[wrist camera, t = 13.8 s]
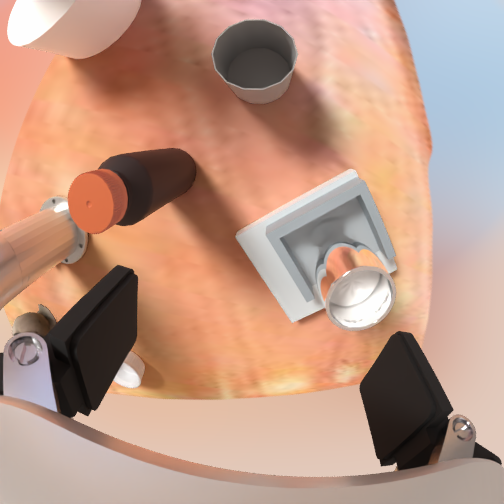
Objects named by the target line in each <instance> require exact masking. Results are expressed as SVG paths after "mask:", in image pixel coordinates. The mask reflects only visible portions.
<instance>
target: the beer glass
mask: <svg viewBox="0 0 504 504" xmlns="http://www.w3.org/2000/svg"><path fill="white" fill-rule="evenodd" d="M309 248H310V251H311V253H312V254H313V256H314V257H315V258H316V266H315V276H316V283H317V288H318V292H319V295H320V298H321V300H322V302H323V305H324V307H325V309H326V313H327V315H328V317H329V319H330V320H331V322H332V323H333V324H334V325H336V326H337V327H339V328H341V329H344V330H349V331H359V330H364V329H367V328H370V327H372V326H374V325H376V324H377V323H379V322H380V321H382V320H383V319H384V318H385V317H386V316H387V314H388V313H389V312H390V310H391V309H392V307H393V304H394V302H395V298H396V287H395V283H394V281H393V279H392V277H391V276H390V275H389V273H388V271H387V269H386V268H385V266H384V264H383V263H382V261H381V260H380V259H379V257H378V256H377V255H376V254H375V253H374V252H373V251H372V249H371V248H369V247H368V246H367V245H365V244H364V243H362V242H361V241H359V240H357V239H355V238H353V234H352V232H351V230H350V228H349V227H348V226H347V225H346V224H345V223H343V222H341V221H339V220H326V221H323V222H321V223H319V224H318V225H317V226H316V227H315V228H314V229H313V230H312V232H311V234H310V238H309Z"/></svg>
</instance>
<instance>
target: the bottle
mask: <svg viewBox="0 0 504 504" xmlns="http://www.w3.org/2000/svg"><path fill="white" fill-rule="evenodd" d="M195 175H196V169H195V164H194V162H193V160H192V158H191V157H190V156H189V155H188V154H187V152H185V151H183V150H181V149H176V148H168V149H158V150H149V151H141V152H133V153H126V154H120V155H116V156H113V157H110V158H109V159H107V160H106V161H105V162H103V163H102V164H101V166H100V167H99V168H98V170H95V171H90V172H86V173H83V174H81V175H79V176H78V177H77V178H75V180H74V181H73V183H72V185H71V187H70V190H69V194H68V207H69V212H70V215H71V218H72V219H73V221H74V222H75V224H77V226H78V227H79V228H80V229H82V230H84V231H85V232H88V233H90V234H91V233H92V234H95V233H96V234H97V233H98V234H99V233H101V232H104V231H105V230H107V229H109V228H110V227H112V226H113V225H115V224H116V225H120V226H128V225H133V224H135V223H137V222H139V221H141V220H142V219H144V218H145V217H147V216H148V215H150V214H152V213H153V212H155V211H156V210H158V209H159V208H161V207H162V206H164V205H166V204H167V203H169V202H170V201H172V200H174V199H175V198H177V197H178V196H180V195H182V194H183V193H185V192H186V191H187V190H188V189H189V188H190V187H191V186H192V184H193V182H194V180H195Z"/></svg>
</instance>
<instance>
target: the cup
mask: <svg viewBox="0 0 504 504" xmlns="http://www.w3.org/2000/svg"><path fill="white" fill-rule="evenodd" d="M297 56H298V53H297V49H296V45H295V42H294V39H293V38H292V36H291V35H290V34H289V33H288V32H287V31H286V30H285V29H284V28H283V27H282V26H280V25H277V24H275V23H272V22H270V21H267V20H244V21H241V22H238V23H236V24H233V25H231V26H229V27H228V28H227V29H225V30H224V31H223V32H222V33H221V34H220V35H219V36H218V38H217V39H216V41H215V44H214V47H213V51H212V59H213V63H214V68H215V70H216V72H217V73H218V74H219V75H220V76H221V78H222V79H223V80H224V81H225V82H226V84H227V85H228V86H229V87H230V89H231V90H232V91H233V92H234V93H235V94H236V96H237V97H238V98H240V99H242V100H244V101H247V102H249V103H251V104H267V103H269V102H272V101H274V100H277V99H279V98H280V97H281V96H282V95H283V94H284V93H285V92H286V91H287V90H288V88H289V84H290V81H291V77H292V74H293V70H294V66H295V63H296V59H297Z"/></svg>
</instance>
